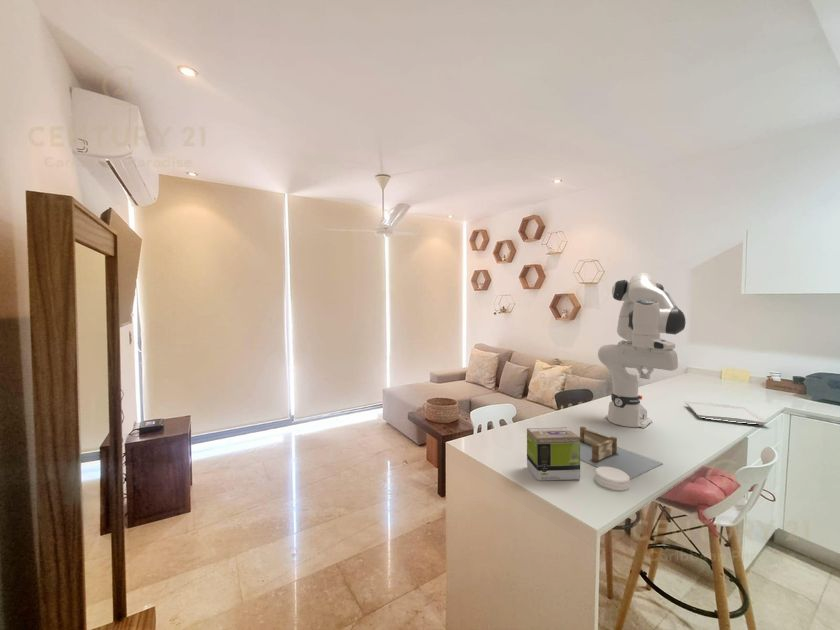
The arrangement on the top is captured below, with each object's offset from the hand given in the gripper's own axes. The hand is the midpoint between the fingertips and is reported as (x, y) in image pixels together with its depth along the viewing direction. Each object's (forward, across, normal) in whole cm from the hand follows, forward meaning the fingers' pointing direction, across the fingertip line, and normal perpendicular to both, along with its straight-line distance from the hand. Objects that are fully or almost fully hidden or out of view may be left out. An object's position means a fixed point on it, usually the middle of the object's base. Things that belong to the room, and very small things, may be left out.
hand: (644, 378), depth 128 cm
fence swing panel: (+31, -8, -14) cm, 34 cm away
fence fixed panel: (+31, -14, -6) cm, 35 cm away
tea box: (+32, -10, -40) cm, 52 cm away
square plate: (+32, -5, +92) cm, 97 cm away
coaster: (+32, +4, -28) cm, 42 cm away
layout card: (+31, -8, -10) cm, 34 cm away
